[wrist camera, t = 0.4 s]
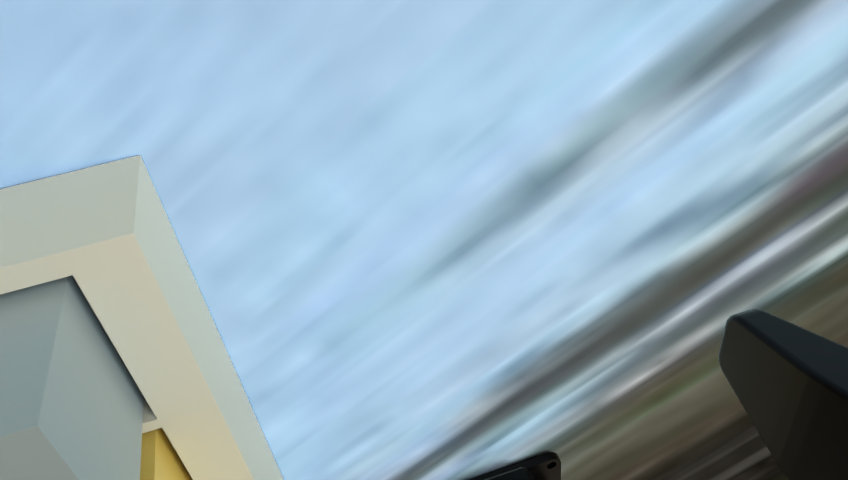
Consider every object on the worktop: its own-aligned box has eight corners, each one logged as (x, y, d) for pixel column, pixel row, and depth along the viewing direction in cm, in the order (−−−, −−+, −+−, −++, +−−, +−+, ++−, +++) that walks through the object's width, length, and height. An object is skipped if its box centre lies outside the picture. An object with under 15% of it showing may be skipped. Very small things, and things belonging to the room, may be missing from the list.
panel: (297, 512, 31) (311, 597, 28) (95, 580, 29) (86, 678, 26) (139, 154, 19) (133, 233, 16) (-207, 239, 18) (-288, 343, 15)
